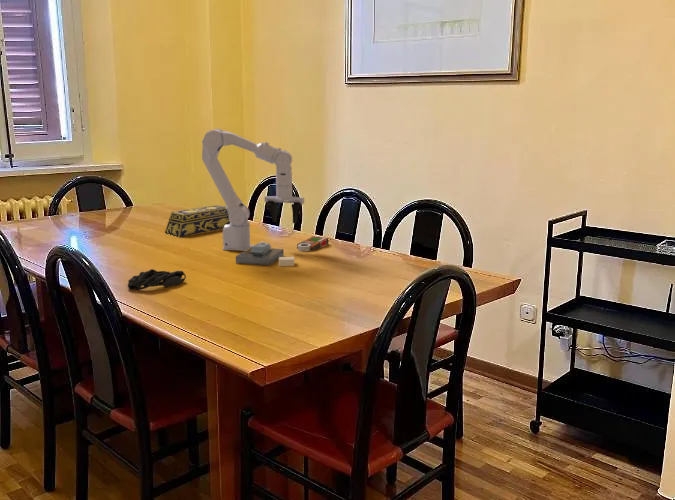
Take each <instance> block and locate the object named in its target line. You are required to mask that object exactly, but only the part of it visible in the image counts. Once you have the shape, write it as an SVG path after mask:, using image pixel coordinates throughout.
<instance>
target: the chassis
mask: <svg viewBox="0 0 675 500" xmlns="http://www.w3.org/2000/svg"><path fill="white" fill-rule="evenodd" d="M251 250H252V247H251V248H248V249H247V250H245V251H241V252H240V253H238V254H236V255H235V264H241V265H242V264H244V265H255V266H256V265H259V266H271V265H273V264H274V263H275V262H276V261H279V257H285V253H284V250H285V249H284V248H275V247H274V248H272V247H271V248H270V252H269V253H267V254H266V255H258V254H253V253H252V252H251Z"/></svg>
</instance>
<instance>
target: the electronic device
mask: <svg viewBox="0 0 675 500" xmlns="http://www.w3.org/2000/svg"><path fill="white" fill-rule="evenodd" d="M328 244H329V238H328V237H322V236H316V235H315V236H310V237H309V238H307V239H305V240H303V241H301V242H299V243H297V245H296V246H297V247H296V248H297V250H298V251H299V252H309V251H311V252H314V251H316V250H319V249H321V248H323V247H325V246H327V245H328Z"/></svg>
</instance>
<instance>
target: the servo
mask: <svg viewBox="0 0 675 500" xmlns="http://www.w3.org/2000/svg"><path fill="white" fill-rule="evenodd" d="M253 245H254V246H252V250H251V252H252V253H253V254H258V255H266V254H267V253H269V252H270V248H272V245H271V244H270V243H269V242H268V243H267V242H266V241H264V240H261V241H259V242H258V243H256V244H253Z"/></svg>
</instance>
